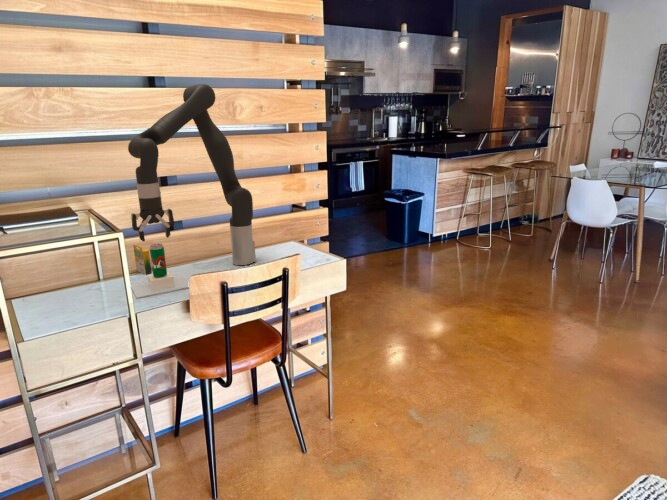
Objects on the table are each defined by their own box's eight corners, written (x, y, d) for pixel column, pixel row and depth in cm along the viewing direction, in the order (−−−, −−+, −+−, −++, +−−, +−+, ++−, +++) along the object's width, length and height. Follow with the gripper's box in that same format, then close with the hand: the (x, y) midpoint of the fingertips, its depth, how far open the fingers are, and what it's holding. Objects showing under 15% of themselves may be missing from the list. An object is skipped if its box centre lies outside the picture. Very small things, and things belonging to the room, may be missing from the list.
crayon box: (152, 272, 191) (148, 246, 188) (145, 274, 189) (141, 247, 186) (143, 269, 196) (139, 242, 192) (136, 271, 194) (132, 244, 190)
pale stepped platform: (183, 276, 186) (181, 265, 185) (193, 287, 175) (191, 276, 174) (130, 286, 176) (128, 275, 175) (137, 299, 165) (135, 287, 164)
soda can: (169, 273, 177) (165, 243, 173) (163, 278, 172) (159, 247, 168) (156, 273, 177) (153, 243, 173) (150, 277, 172) (146, 247, 169)
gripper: (167, 191, 172) (172, 233, 177) (126, 196, 165) (133, 239, 169) (172, 194, 166) (177, 238, 171) (130, 199, 158) (137, 244, 163)
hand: (155, 239), depth 170 cm, fingers open, 8 cm apart
